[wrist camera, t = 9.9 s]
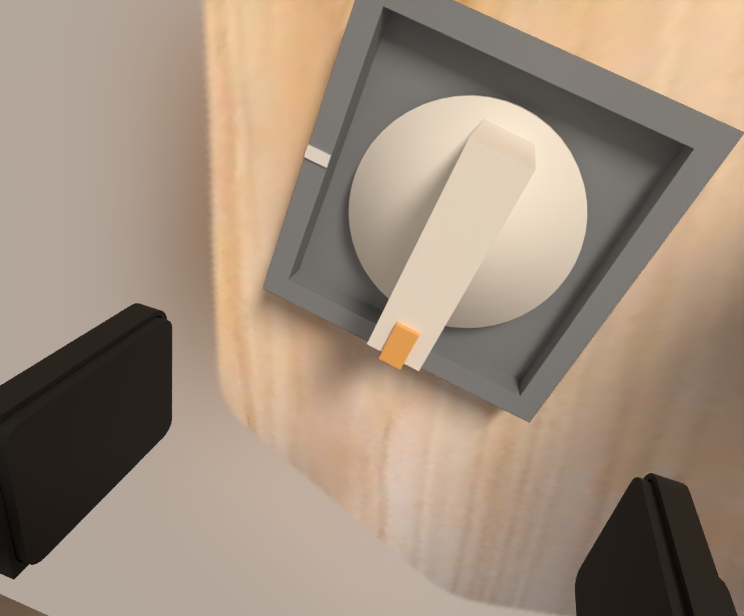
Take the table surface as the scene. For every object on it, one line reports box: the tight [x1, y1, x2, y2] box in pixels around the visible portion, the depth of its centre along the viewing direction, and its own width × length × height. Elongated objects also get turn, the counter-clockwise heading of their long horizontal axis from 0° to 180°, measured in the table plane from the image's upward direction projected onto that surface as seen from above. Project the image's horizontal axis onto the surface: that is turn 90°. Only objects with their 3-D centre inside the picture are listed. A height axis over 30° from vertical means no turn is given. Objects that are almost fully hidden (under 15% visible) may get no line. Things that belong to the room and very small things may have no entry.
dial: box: [349, 95, 587, 371], centre depth 22 cm, size 11×11×7 cm
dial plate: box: [263, 0, 744, 423], centre depth 26 cm, size 16×16×4 cm
